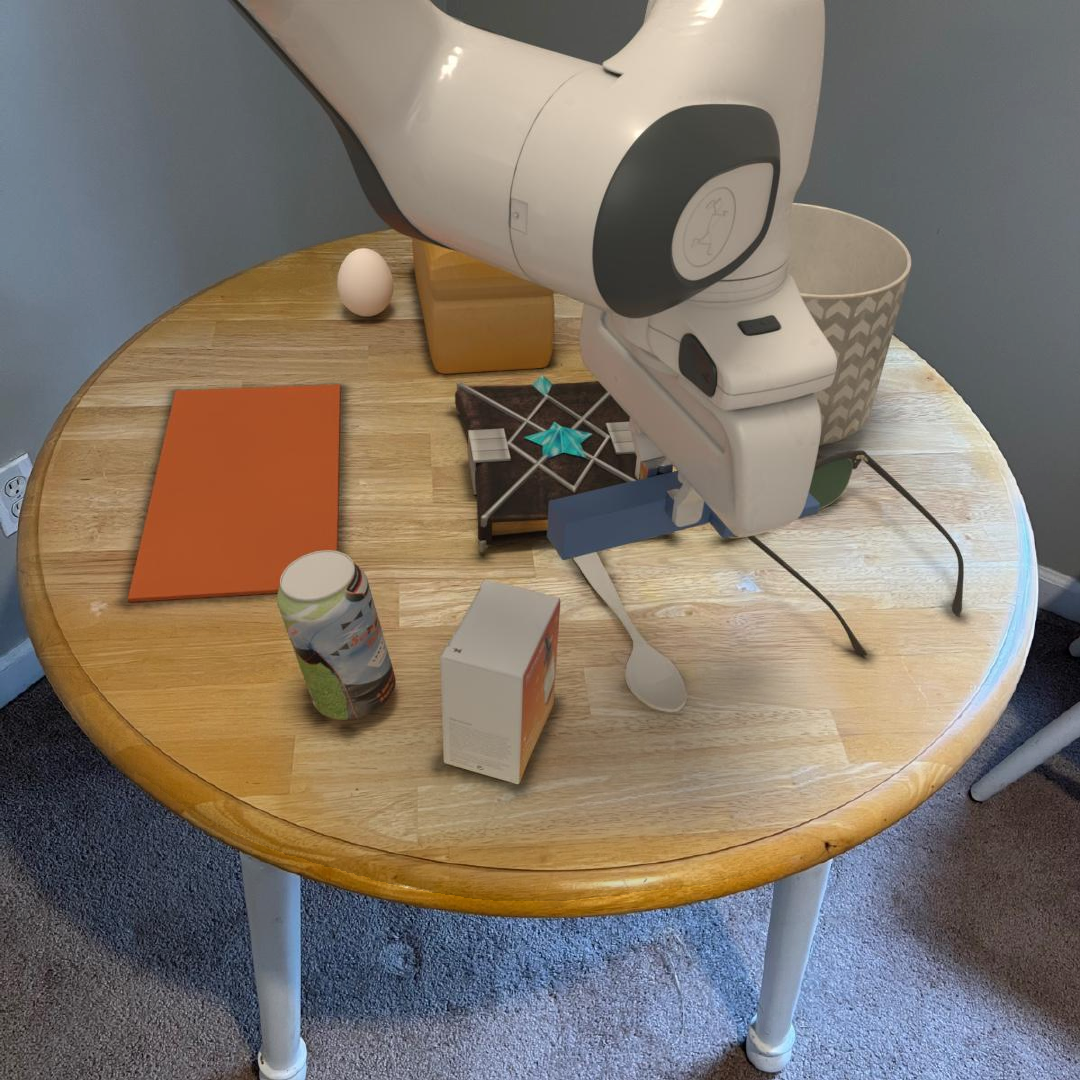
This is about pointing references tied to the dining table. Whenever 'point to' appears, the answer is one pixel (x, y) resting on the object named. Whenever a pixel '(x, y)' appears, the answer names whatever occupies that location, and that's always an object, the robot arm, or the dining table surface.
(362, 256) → the egg
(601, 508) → the blue stepped bar
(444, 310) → the bread
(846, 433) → the planter
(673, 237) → the robot arm
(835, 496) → the sunglasses
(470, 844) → the dining table surface
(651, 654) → the spoon
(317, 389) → the flat orange board
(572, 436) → the book
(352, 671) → the beverage can
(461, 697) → the small box
